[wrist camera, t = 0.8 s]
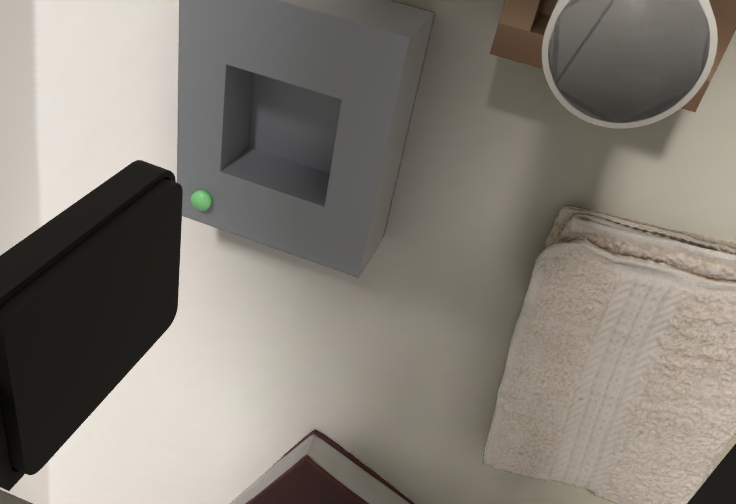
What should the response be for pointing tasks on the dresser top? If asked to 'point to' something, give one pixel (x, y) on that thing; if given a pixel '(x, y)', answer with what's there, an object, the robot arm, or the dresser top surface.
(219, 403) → the dresser top surface
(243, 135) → the port
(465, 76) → the dresser top surface
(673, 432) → the washcloth
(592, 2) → the grey and white cylinder
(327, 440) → the book
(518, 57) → the holster
